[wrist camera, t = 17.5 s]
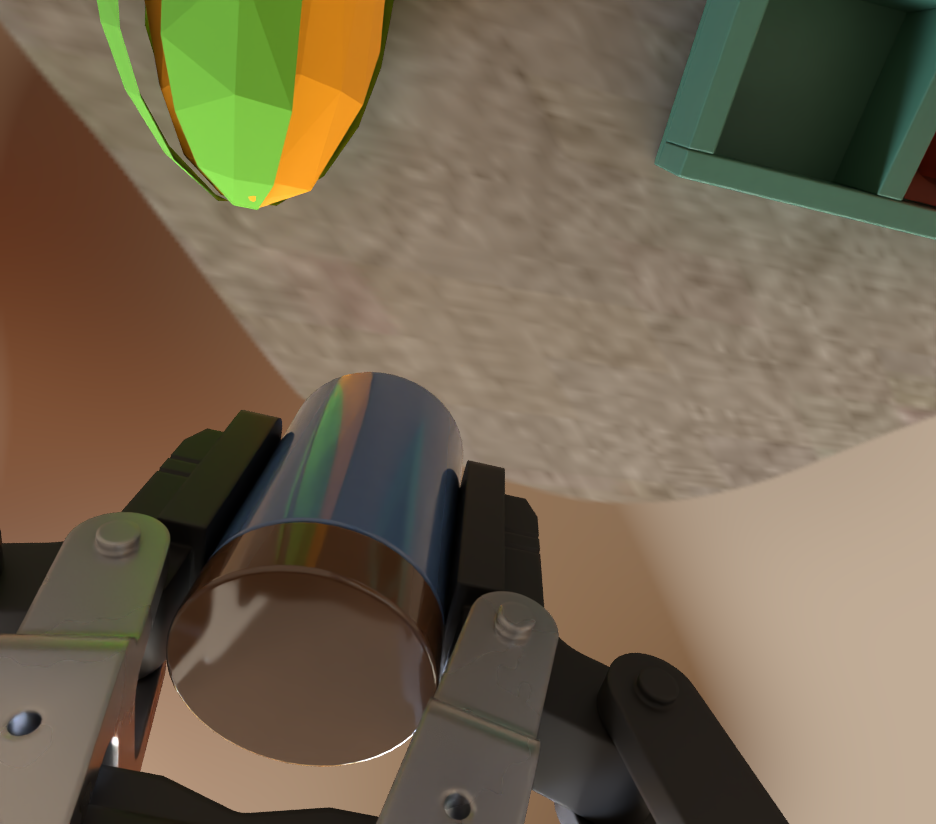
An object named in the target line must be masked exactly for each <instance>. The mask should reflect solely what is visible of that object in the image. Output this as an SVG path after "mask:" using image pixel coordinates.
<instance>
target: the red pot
mask: <svg viewBox="0 0 936 824" xmlns="http://www.w3.org/2000/svg"><path fill="white" fill-rule="evenodd" d="M917 171H918V172H919V173H920V175H921V176H922V177H923V178H925V179H926V180H927V181H928V182H930V183H932V184H934V185H936V132H935V134H934V136H933V138H932V140H931V142H930V144H929V146H928V148H927V151H926V153H925V155H924V157H923V159H922V161H921V163H920V165H919V167H918V169H917Z"/></svg>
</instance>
